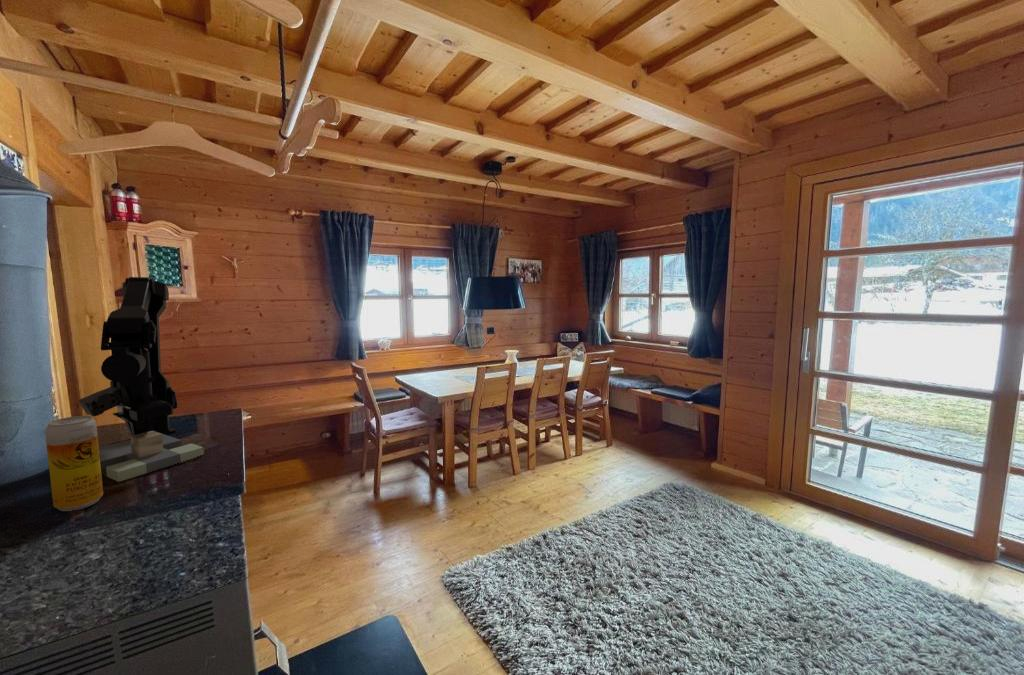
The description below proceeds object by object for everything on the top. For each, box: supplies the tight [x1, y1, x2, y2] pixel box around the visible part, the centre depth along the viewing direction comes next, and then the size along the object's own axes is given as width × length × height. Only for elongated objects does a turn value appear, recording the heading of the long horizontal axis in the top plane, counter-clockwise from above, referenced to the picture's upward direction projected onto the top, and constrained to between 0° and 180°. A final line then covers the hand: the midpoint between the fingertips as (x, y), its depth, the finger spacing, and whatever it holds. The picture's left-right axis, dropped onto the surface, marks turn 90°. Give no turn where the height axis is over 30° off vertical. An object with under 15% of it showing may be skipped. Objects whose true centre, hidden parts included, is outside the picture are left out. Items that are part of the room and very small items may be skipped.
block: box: [129, 431, 163, 458], centre depth 91 cm, size 4×4×4 cm
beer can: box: [44, 415, 104, 512], centre depth 73 cm, size 6×6×15 cm
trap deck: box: [99, 434, 205, 483], centre depth 93 cm, size 20×15×2 cm
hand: (139, 443), depth 93 cm, fingers closed
